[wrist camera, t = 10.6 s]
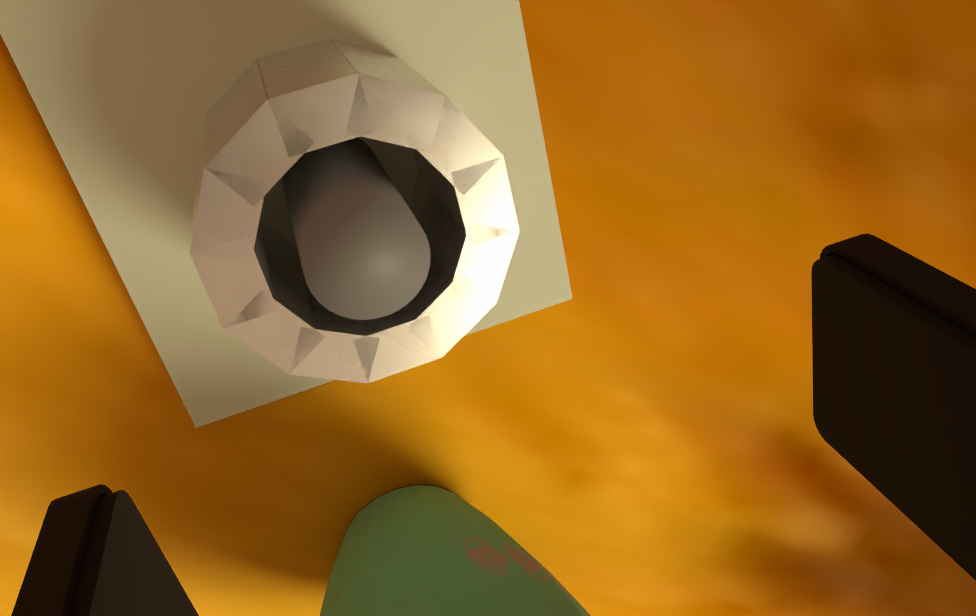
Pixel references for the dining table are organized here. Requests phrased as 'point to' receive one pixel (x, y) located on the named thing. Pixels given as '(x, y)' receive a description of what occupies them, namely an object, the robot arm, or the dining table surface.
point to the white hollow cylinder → (276, 262)
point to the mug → (437, 563)
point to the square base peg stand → (304, 187)
